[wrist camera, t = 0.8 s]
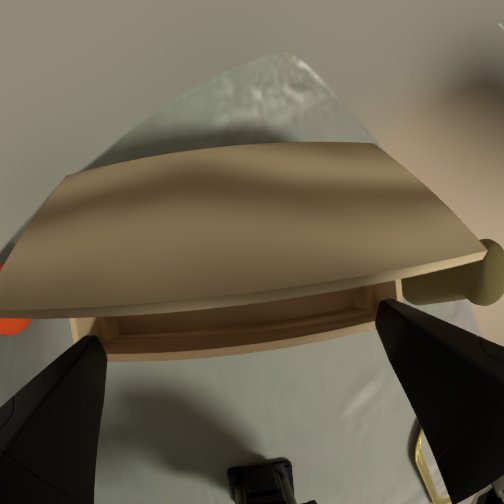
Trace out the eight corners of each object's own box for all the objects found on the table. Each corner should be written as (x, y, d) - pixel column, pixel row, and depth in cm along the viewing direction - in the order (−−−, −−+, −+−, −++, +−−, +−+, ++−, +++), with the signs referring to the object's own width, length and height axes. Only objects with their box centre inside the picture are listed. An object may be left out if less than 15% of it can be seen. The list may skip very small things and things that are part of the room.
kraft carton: (358, 310, 24) (404, 320, 16) (117, 339, 22) (77, 360, 14) (339, 183, 25) (376, 150, 17) (106, 209, 23) (65, 183, 15)
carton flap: (482, 259, 8) (487, 250, 8) (-12, 317, 7) (-19, 309, 6) (372, 150, 17) (373, 143, 16) (68, 182, 15) (66, 175, 14)
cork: (437, 304, 24) (514, 309, 13) (396, 306, 24) (478, 315, 13) (439, 249, 25) (514, 234, 14) (398, 245, 25) (478, 225, 14)
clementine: (21, 346, 20) (-20, 358, 13) (-3, 294, 21) (-44, 295, 14) (57, 308, 21) (11, 314, 14) (29, 253, 22) (-15, 245, 15)
